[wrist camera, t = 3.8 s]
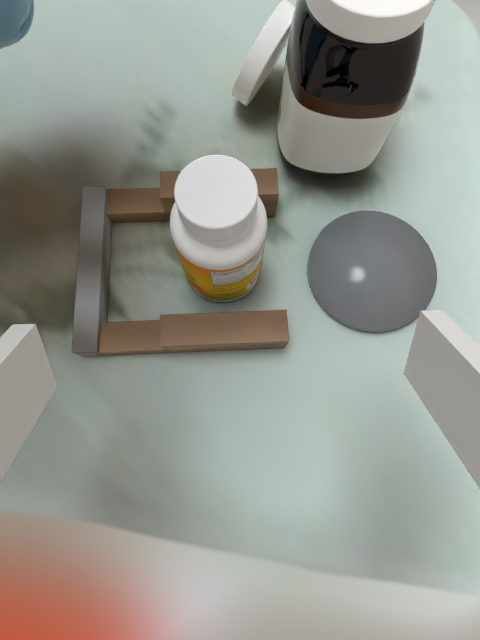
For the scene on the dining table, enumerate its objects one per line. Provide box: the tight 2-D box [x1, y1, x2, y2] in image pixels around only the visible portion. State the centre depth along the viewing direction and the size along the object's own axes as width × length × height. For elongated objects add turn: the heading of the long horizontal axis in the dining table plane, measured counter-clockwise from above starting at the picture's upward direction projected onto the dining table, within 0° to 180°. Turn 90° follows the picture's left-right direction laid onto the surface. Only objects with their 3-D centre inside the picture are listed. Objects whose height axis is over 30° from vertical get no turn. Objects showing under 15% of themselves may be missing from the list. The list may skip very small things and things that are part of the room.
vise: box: [72, 168, 289, 356], centre depth 25 cm, size 12×14×3 cm
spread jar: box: [232, 0, 436, 175], centre depth 24 cm, size 12×11×12 cm
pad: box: [307, 211, 437, 333], centre depth 26 cm, size 9×9×1 cm
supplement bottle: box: [170, 155, 267, 302], centre depth 22 cm, size 5×5×10 cm
